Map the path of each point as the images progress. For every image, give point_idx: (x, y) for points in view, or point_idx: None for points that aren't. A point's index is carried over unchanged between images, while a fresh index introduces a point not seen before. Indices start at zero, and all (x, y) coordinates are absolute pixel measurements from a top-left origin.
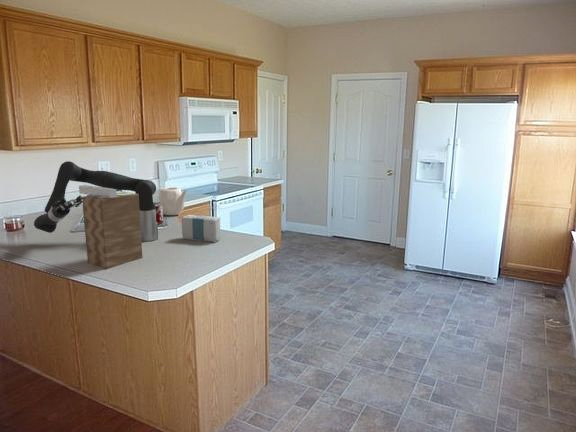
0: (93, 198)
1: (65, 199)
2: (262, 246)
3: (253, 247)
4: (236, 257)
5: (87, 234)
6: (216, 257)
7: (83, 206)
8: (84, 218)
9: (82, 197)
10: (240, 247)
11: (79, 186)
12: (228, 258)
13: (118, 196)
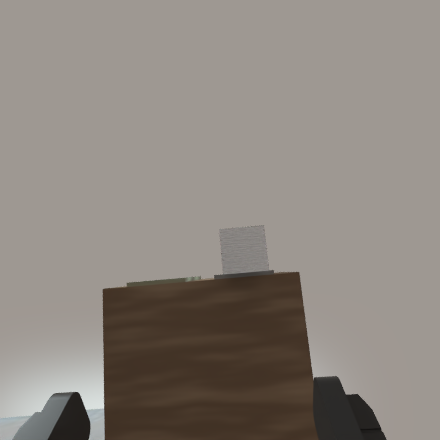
0: (283, 272)
1: (314, 395)
2: (5, 419)
3: (13, 424)
4: (94, 412)
5: None
6: (101, 427)
7: (304, 316)
8: (312, 377)
9: (298, 274)
10: (11, 435)
11: (263, 228)
12: (103, 415)
13: (210, 278)
